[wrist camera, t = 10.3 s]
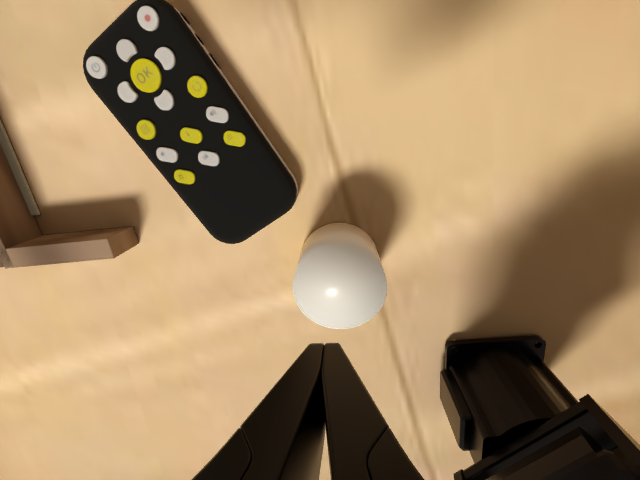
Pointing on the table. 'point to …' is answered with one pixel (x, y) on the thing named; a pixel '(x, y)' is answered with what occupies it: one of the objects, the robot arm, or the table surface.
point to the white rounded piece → (339, 277)
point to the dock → (25, 236)
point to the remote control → (189, 120)
